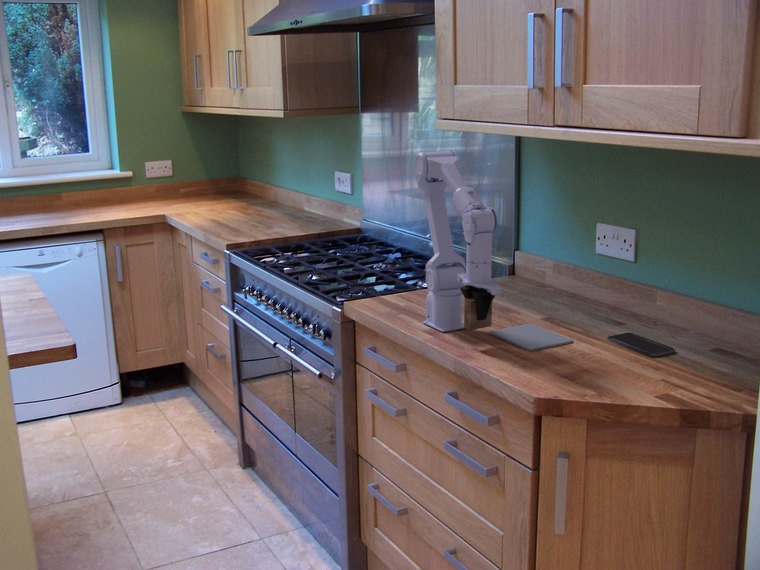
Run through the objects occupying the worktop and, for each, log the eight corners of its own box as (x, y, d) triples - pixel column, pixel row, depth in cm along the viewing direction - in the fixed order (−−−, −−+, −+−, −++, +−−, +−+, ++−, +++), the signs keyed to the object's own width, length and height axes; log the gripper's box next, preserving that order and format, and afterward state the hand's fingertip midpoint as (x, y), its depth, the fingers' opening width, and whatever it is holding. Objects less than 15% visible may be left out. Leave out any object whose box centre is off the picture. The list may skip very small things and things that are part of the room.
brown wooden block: (463, 327, 192) (464, 298, 191) (484, 323, 195) (485, 295, 193) (470, 330, 190) (470, 301, 188) (491, 326, 193) (492, 297, 191)
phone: (652, 355, 183) (605, 336, 196) (651, 360, 183) (605, 341, 196) (678, 349, 187) (630, 331, 200) (677, 354, 187) (630, 336, 200)
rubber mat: (488, 333, 202) (488, 331, 202) (530, 325, 208) (530, 323, 208) (529, 351, 189) (529, 349, 189) (573, 342, 195) (573, 340, 195)
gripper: (446, 257, 193) (446, 312, 196) (483, 269, 181) (482, 328, 184) (471, 253, 196) (470, 308, 200) (509, 265, 184) (507, 323, 187)
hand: (477, 317), depth 192 cm, fingers closed on brown wooden block, 2 cm apart
